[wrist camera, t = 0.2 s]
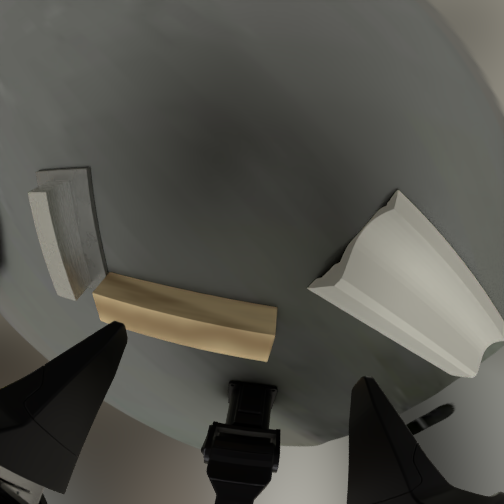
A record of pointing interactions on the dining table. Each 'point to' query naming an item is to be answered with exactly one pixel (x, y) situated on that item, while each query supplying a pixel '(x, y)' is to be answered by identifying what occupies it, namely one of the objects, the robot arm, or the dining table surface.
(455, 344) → the crown molding
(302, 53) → the dining table surface
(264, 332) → the oak batten
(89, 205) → the fulcrum stand
